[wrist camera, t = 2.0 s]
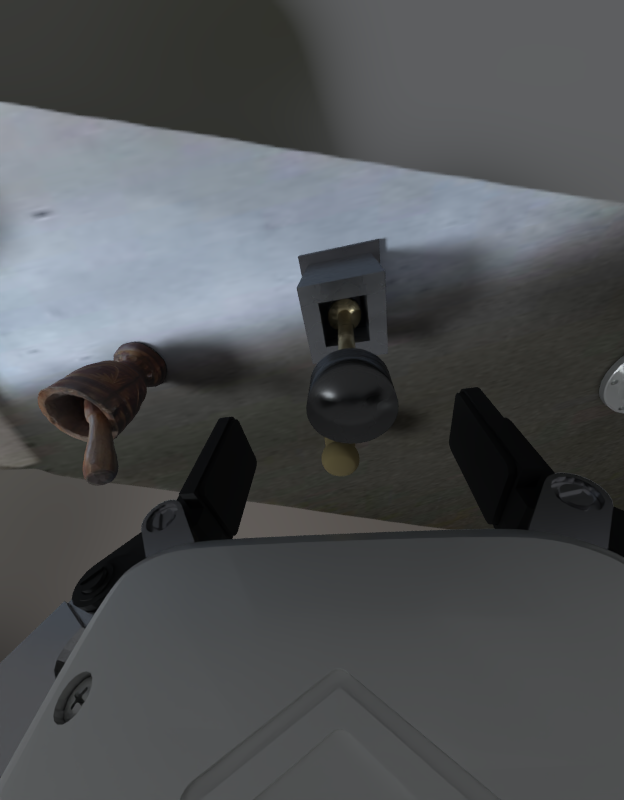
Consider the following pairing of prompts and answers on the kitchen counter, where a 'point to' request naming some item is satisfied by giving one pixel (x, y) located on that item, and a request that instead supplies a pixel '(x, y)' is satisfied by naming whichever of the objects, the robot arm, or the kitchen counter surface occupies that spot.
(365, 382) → the plunger
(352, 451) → the cork
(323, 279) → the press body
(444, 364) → the kitchen counter surface
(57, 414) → the mortar and pestle
